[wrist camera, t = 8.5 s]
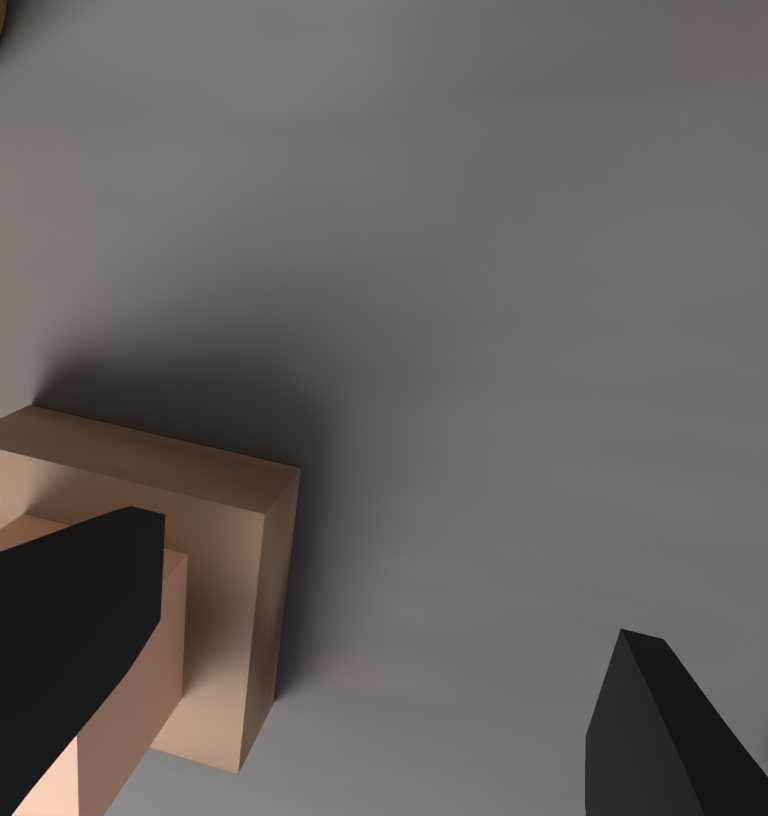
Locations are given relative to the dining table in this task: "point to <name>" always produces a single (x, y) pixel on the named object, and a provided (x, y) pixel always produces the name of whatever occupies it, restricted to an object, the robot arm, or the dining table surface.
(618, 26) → the dining table surface
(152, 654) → the terracotta cube
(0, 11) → the plant pot
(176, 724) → the tan square slab
